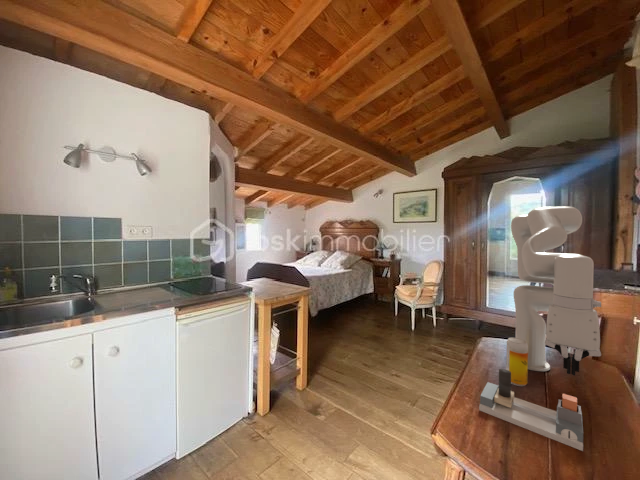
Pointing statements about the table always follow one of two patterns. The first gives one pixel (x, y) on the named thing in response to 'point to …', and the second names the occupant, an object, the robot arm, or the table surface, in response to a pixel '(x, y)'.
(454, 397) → the table surface
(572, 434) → the rail base
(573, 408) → the button
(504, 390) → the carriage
